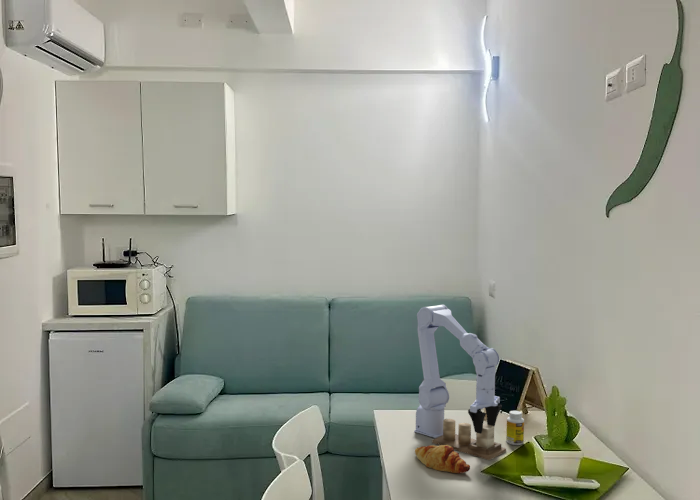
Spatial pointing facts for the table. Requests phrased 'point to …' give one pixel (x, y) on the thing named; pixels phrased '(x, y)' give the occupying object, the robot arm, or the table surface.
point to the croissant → (442, 458)
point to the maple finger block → (485, 437)
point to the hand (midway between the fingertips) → (484, 429)
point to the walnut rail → (465, 447)
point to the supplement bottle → (515, 428)
